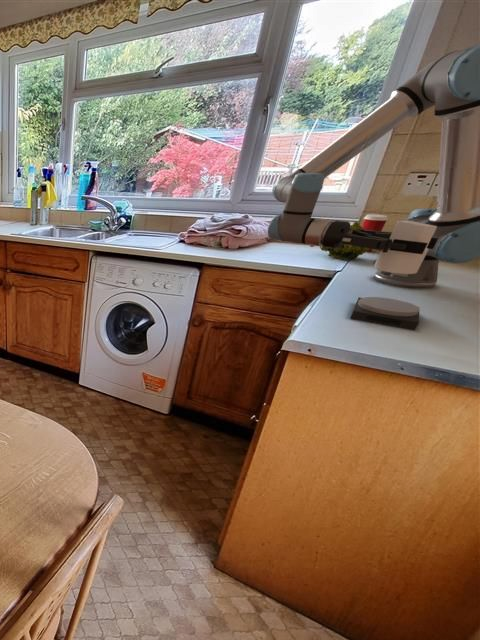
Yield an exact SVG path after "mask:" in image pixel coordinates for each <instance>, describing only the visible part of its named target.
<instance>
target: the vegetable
mask: <svg viewBox="0 0 480 640" xmlns="http://www.w3.org/2000/svg"><path fill="white" fill-rule="evenodd" d="M356 229H362V225H360V223H359V222H358V221H354V222H353V224H350V230H351V231H353V230H356ZM319 249H320V250H321V251H323V252H328V253H329V254H327V256H329V257H331V258H333V259H338V260H344V261H349V260H354V259H357V258H358V257H359V256H363V255H364V254H366V253H368V252H367V251H368V250H369V249H370V248H365V247H359V246H353V245H346V244H342V246H340V247H339V248H329V247H324V246H323V245H322V246H319Z"/></svg>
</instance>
